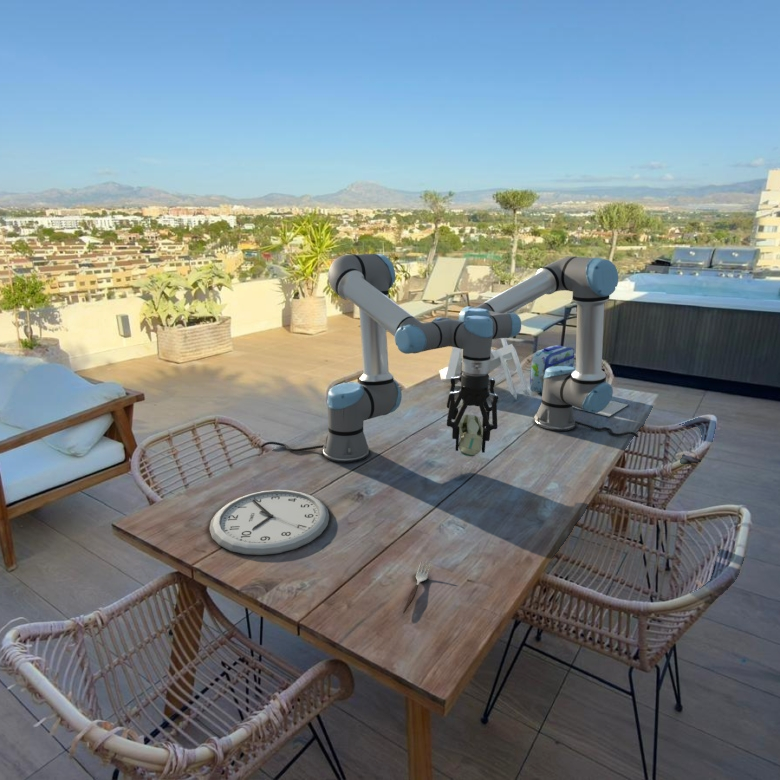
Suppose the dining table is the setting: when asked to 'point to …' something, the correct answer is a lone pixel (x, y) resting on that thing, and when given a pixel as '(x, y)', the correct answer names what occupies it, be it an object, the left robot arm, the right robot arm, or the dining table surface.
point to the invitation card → (610, 408)
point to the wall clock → (269, 522)
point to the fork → (420, 577)
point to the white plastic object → (495, 361)
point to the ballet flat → (470, 435)
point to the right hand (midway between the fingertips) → (469, 429)
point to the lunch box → (548, 363)
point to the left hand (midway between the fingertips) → (469, 449)
